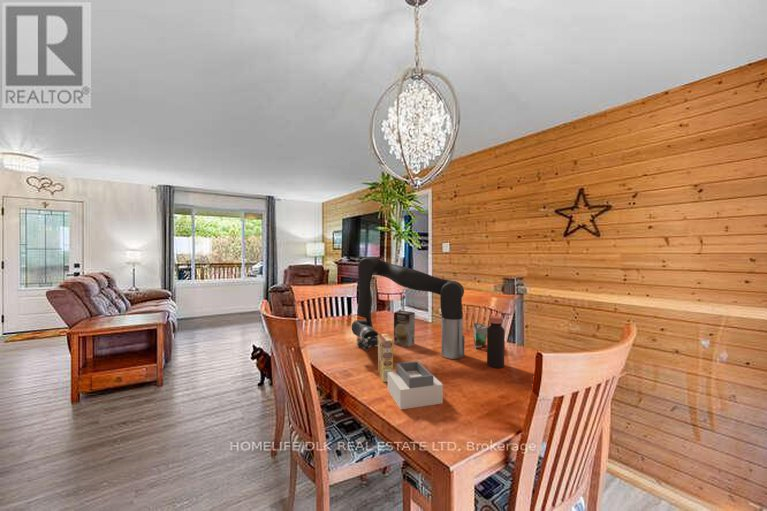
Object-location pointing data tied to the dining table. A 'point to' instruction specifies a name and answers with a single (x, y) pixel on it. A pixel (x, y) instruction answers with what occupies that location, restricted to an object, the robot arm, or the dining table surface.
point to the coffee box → (404, 328)
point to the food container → (480, 335)
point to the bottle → (495, 343)
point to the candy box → (385, 356)
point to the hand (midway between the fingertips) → (378, 347)
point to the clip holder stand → (414, 386)
